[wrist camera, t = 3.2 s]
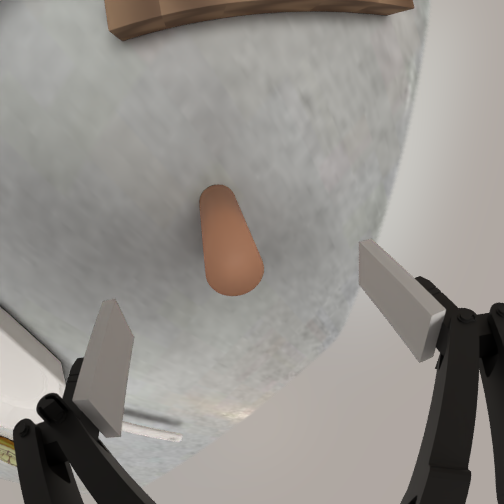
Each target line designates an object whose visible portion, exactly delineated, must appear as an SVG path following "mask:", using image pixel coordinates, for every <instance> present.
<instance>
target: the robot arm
mask: <svg viewBox="0 0 504 504" xmlns="http://www.w3.org/2000/svg"><path fill="white" fill-rule="evenodd" d="M359 285H360V286H361V288H362V289H363V290H364V291H365V293H366V294H367V295H368V296H369V298H370V299H371V300H372V301H373V303H374V304H375V305H376V306H377V308H378V309H379V310H380V312H381V313H382V314H383V315H384V317H385V318H386V319H387V320H388V322H389V323H390V324H391V326H392V327H393V328H394V330H395V331H396V332H397V333H398V335H399V336H400V337H401V339H402V340H403V341H404V343H405V344H406V345H407V347H408V348H409V349H410V351H411V352H412V353H413V355H414V356H415V357H416V359H417V360H418V362H423V361H425V360H427V359H429V358H431V357H433V355H434V352H435V348H437V349H438V350H439V352H440V355H439V359H438V361H437V364H436V367H435V369H437V374H436V379H435V385H434V391H433V396H432V402H431V406H430V411H429V415H428V420H427V424H426V428H425V433H424V437H423V440H422V444H421V448H420V452H419V455H418V458H417V462H416V465H415V468H414V472H413V475H412V478H411V481H410V484H409V486H408V489H407V491H406V493H405V495H404V497H403V499H402V501H401V503H400V504H465V502H466V498H467V494H468V490H469V486H470V481H471V471H470V470H468V463H469V458H470V453H471V447H472V440H473V433H474V426H475V418H476V408H477V395H478V381H479V370H480V374H481V378H482V383H483V388H484V393H485V398H486V403H487V409H488V415H489V421H490V428H491V435H492V443H493V452H494V464H495V477H496V493H497V500H498V504H504V303H495V304H493V305H492V307H491V309H490V312H489V313H485V314H479V315H476V313H475V312H473V311H472V310H470V309H466V308H458V307H457V306H456V305H455V304H454V303H453V302H452V301H450V300H449V299H448V298H447V297H446V296H445V295H444V294H443V293H441V291H440V290H439V289H438V288H436V286H435V285H434V284H433V283H432V282H430V281H429V280H427V279H425V278H423V277H421V276H419V277H416V278H413V277H412V276H411V275H410V274H409V273H408V272H407V271H406V270H405V269H404V268H403V267H402V266H401V265H400V264H399V263H397V262H396V261H395V260H394V259H393V258H392V257H391V256H390V255H389V254H388V253H387V252H386V251H384V250H383V249H382V248H381V247H380V246H379V245H378V244H377V243H375V242H374V241H373V240H372V239H368V240H364V241H360V242H359ZM133 342H134V336H133V334H132V332H131V330H130V328H129V326H128V324H127V322H126V320H125V318H124V316H123V314H122V312H121V309H120V307H119V305H118V303H117V301H116V299H111V300H106V301H103V302H102V305H101V308H100V311H99V313H98V316H97V319H96V322H95V325H94V328H93V331H92V334H91V337H90V340H89V343H88V347H87V350H86V353H85V356H84V358H78V359H77V360H76V361H75V363H74V364H73V365H72V367H71V370H70V374H69V377H68V380H67V384H66V387H65V390H64V394H63V397H62V398H61V397H60V396H59V395H58V394H57V393H48V394H46V395H45V396H43V397H42V398H41V399H40V400H39V402H38V404H37V407H36V411H37V414H38V415H39V416H40V417H41V418H42V419H43V420H44V422H41V423H38V424H35V423H34V422H33V421H32V420H30V419H27V418H25V419H22V420H20V421H19V422H18V423H17V424H16V425H15V427H14V429H13V441H14V449H15V456H16V463H17V469H18V475H19V480H20V485H21V490H22V495H23V499H24V503H25V504H84V503H83V501H82V498H81V495H80V492H79V490H78V487H77V484H76V481H75V478H74V475H73V472H72V469H71V466H72V467H73V469H74V470H75V472H76V473H77V475H78V476H79V478H80V479H81V481H82V482H83V484H84V485H85V487H86V488H87V490H88V491H89V493H90V494H91V495H92V496H93V498H94V499H95V501H96V502H97V504H156V503H155V502H154V501H153V500H152V499H151V498H150V497H149V496H148V495H147V494H146V493H145V492H144V491H143V490H142V488H141V487H140V486H139V485H138V484H137V483H136V482H135V481H134V480H133V479H132V478H131V476H130V475H129V474H128V473H127V472H126V471H125V470H124V468H123V467H122V466H121V465H120V464H119V463H118V461H117V460H116V459H115V458H114V457H113V455H112V454H111V453H110V452H109V450H108V449H107V448H106V447H105V445H104V444H103V443H102V441H101V440H100V439H99V438H98V436H99V431H100V432H101V433H102V434H103V435H104V436H105V437H106V438H107V437H121V430H122V420H123V411H124V403H125V395H126V387H127V380H128V373H129V366H130V360H131V354H132V348H133ZM69 462H70V463H69ZM70 464H71V466H70Z"/></svg>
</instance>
